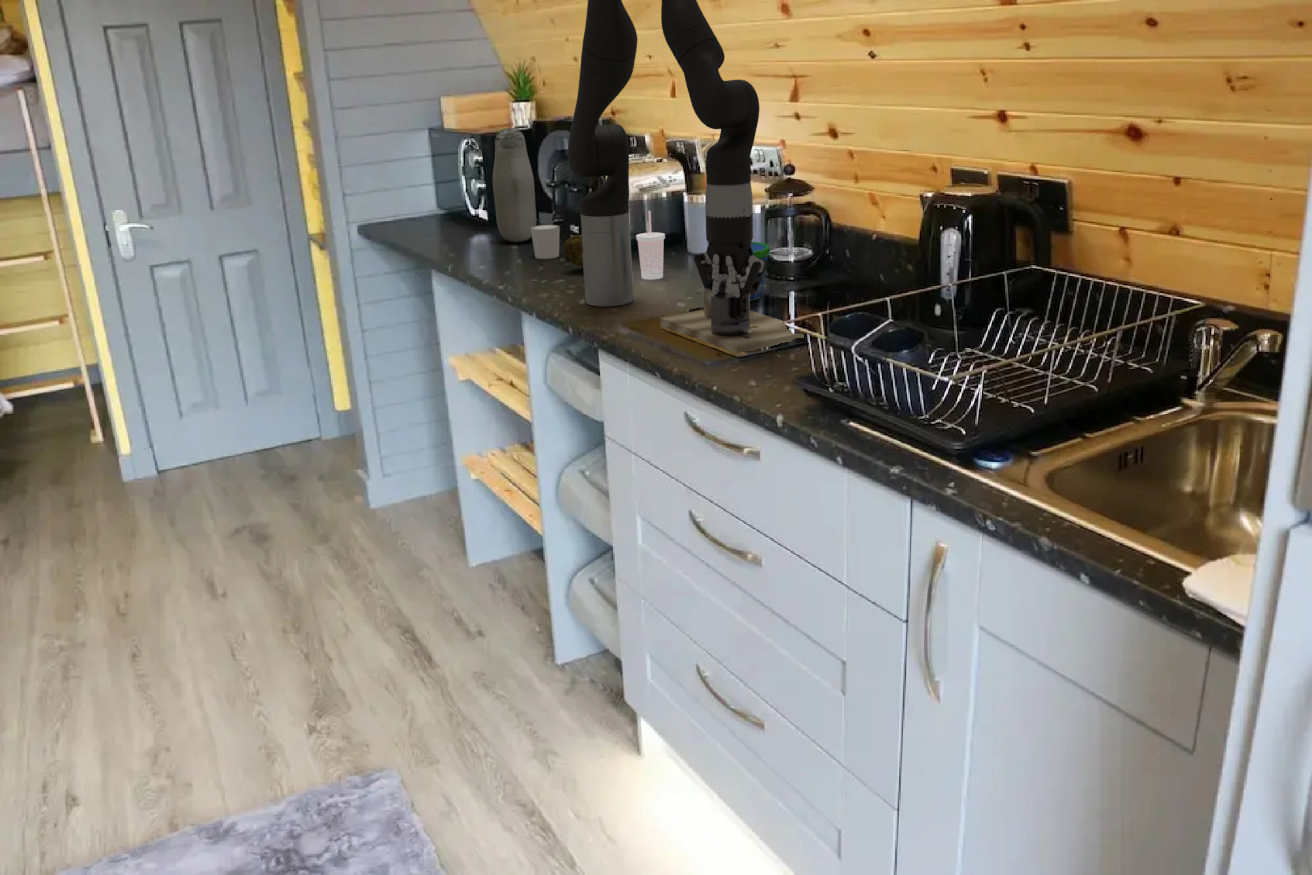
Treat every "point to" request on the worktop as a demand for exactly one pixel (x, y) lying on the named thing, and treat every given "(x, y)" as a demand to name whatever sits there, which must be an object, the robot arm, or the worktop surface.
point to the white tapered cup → (545, 241)
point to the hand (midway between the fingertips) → (730, 316)
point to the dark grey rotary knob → (727, 316)
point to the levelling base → (762, 335)
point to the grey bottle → (513, 186)
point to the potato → (574, 250)
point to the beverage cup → (651, 253)
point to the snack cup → (761, 253)
